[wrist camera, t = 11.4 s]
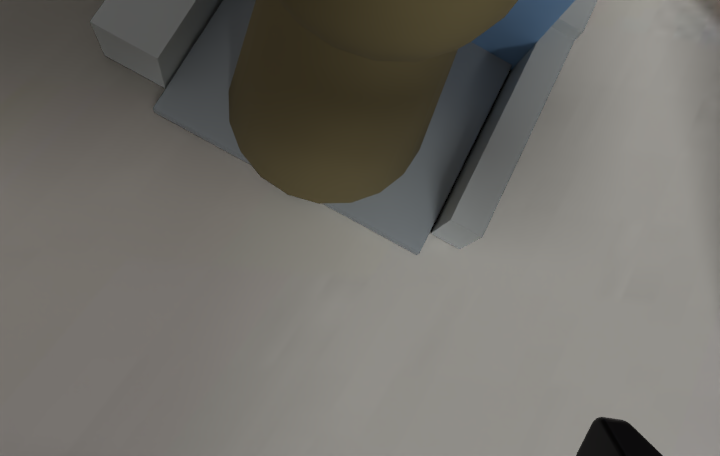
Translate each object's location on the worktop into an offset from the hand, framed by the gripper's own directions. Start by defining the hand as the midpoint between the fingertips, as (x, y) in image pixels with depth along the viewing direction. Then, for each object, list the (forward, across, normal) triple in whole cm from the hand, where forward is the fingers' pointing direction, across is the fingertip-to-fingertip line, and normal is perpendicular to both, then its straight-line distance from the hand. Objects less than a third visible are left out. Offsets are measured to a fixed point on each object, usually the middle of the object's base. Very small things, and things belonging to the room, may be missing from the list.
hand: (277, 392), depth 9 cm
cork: (+13, 0, +1) cm, 13 cm away
